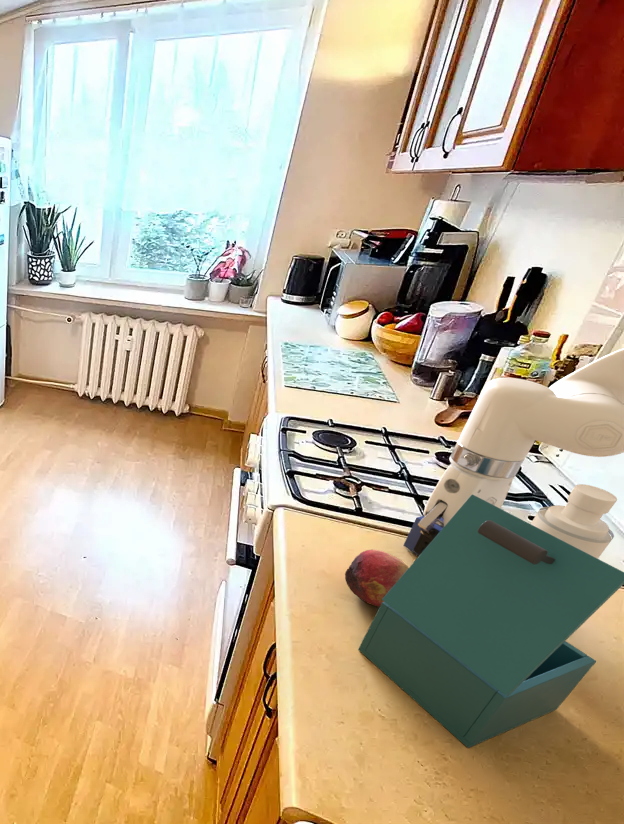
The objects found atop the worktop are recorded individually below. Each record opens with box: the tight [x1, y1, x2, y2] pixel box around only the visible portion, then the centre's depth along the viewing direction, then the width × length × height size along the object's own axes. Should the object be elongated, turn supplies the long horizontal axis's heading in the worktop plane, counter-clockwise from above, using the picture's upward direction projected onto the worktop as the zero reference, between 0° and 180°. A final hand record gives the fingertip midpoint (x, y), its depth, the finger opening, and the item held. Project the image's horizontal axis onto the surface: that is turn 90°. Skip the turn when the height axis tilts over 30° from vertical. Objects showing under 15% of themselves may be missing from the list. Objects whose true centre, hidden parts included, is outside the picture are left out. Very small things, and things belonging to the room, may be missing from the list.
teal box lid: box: [382, 495, 624, 696], centre depth 56 cm, size 16×14×6 cm
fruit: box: [344, 549, 409, 608], centre depth 76 cm, size 8×8×8 cm
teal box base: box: [357, 602, 597, 749], centre depth 64 cm, size 16×14×9 cm
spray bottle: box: [530, 483, 618, 559], centre depth 68 cm, size 7×7×25 cm
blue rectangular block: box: [403, 515, 444, 557], centre depth 85 cm, size 7×5×6 cm
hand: (436, 552), depth 86 cm, fingers closed on blue rectangular block, 5 cm apart
